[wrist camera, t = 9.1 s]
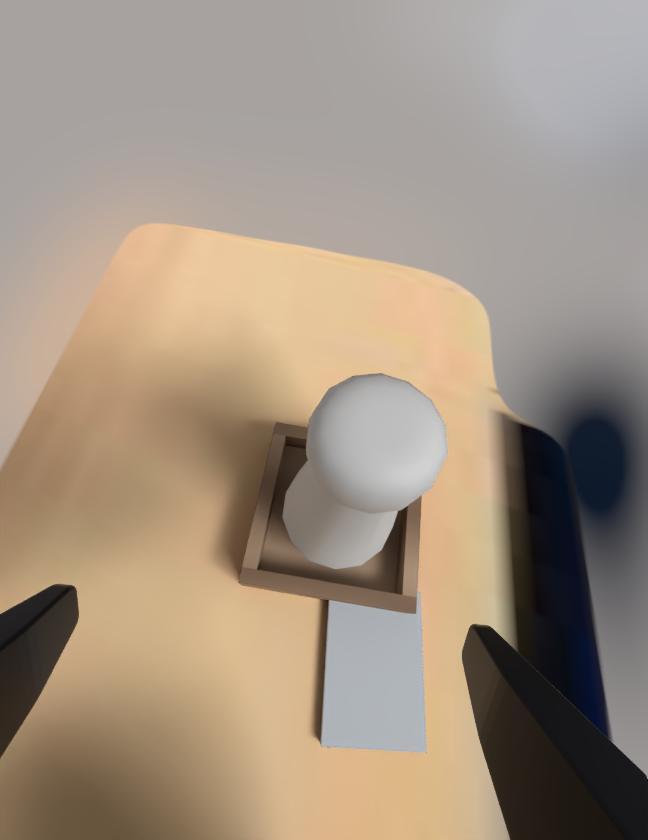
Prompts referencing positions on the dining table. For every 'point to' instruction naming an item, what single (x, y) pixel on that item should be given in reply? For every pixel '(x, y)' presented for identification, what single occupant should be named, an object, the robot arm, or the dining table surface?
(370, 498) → the salt shaker
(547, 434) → the dining table surface
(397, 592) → the walnut socket
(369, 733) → the grey rectangular slab
